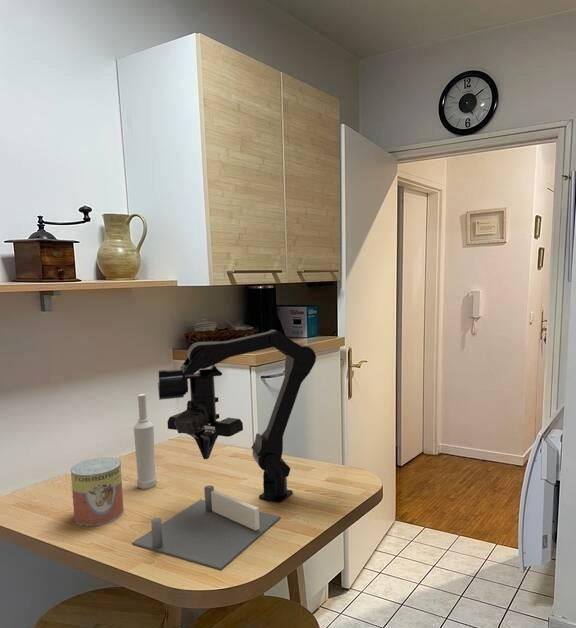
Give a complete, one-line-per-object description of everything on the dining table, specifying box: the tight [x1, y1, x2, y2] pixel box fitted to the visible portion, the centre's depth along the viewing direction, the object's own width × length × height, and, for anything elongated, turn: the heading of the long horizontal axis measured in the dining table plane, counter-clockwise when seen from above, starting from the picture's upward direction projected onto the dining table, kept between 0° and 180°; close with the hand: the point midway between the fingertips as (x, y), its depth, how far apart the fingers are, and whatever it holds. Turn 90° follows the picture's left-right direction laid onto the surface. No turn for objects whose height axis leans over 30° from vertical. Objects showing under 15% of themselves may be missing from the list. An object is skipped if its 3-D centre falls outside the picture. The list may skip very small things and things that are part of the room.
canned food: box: [70, 457, 125, 527], centre depth 122 cm, size 11×11×12 cm
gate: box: [203, 484, 260, 530], centre depth 116 cm, size 18×2×5 cm, turn 47°
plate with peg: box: [131, 498, 282, 571], centre depth 112 cm, size 23×23×6 cm
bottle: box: [133, 393, 157, 490], centre depth 138 cm, size 5×5×25 cm
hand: (206, 458), depth 123 cm, fingers closed
